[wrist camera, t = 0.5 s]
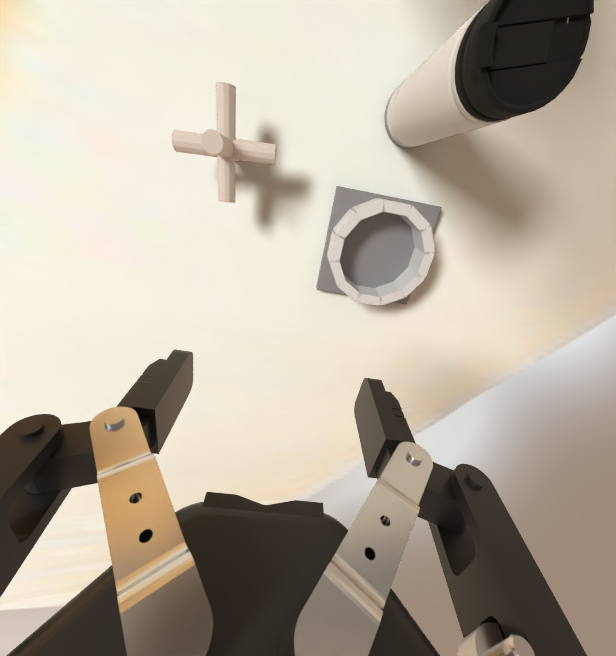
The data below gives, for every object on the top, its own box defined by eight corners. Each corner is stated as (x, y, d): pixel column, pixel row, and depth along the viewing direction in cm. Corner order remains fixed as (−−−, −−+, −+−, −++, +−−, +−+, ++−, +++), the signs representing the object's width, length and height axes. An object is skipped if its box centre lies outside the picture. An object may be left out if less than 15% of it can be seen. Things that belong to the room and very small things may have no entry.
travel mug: (380, 84, 31) (487, -45, 13) (442, 75, 31) (636, -68, 13) (381, 151, 34) (468, 120, 16) (437, 144, 34) (590, 103, 16)
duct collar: (336, 186, 35) (341, 186, 31) (437, 206, 37) (454, 209, 32) (316, 286, 41) (318, 298, 37) (403, 301, 43) (414, 314, 38)
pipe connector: (282, 106, 32) (274, 76, 23) (276, 203, 36) (267, 211, 27) (189, 92, 31) (144, 56, 22) (195, 193, 35) (159, 197, 27)
